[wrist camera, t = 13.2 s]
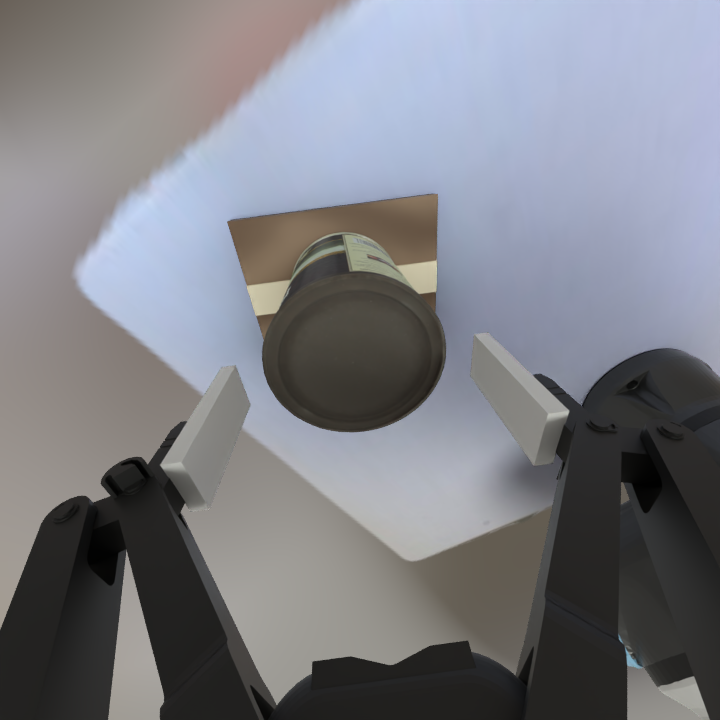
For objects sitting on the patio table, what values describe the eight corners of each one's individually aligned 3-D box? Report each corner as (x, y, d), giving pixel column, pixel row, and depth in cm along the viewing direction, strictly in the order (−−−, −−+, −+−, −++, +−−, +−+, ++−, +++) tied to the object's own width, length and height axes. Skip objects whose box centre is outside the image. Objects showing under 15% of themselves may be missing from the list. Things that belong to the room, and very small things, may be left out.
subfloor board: (430, 349, 35) (434, 355, 34) (277, 370, 35) (275, 377, 34) (432, 193, 27) (437, 194, 26) (232, 219, 27) (227, 221, 25)
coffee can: (296, 337, 31) (273, 437, 19) (286, 230, 26) (247, 273, 14) (394, 336, 32) (432, 431, 20) (404, 232, 27) (464, 274, 15)
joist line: (435, 290, 30) (436, 291, 30) (256, 315, 30) (255, 315, 30) (436, 260, 28) (436, 260, 28) (246, 285, 28) (246, 286, 28)
